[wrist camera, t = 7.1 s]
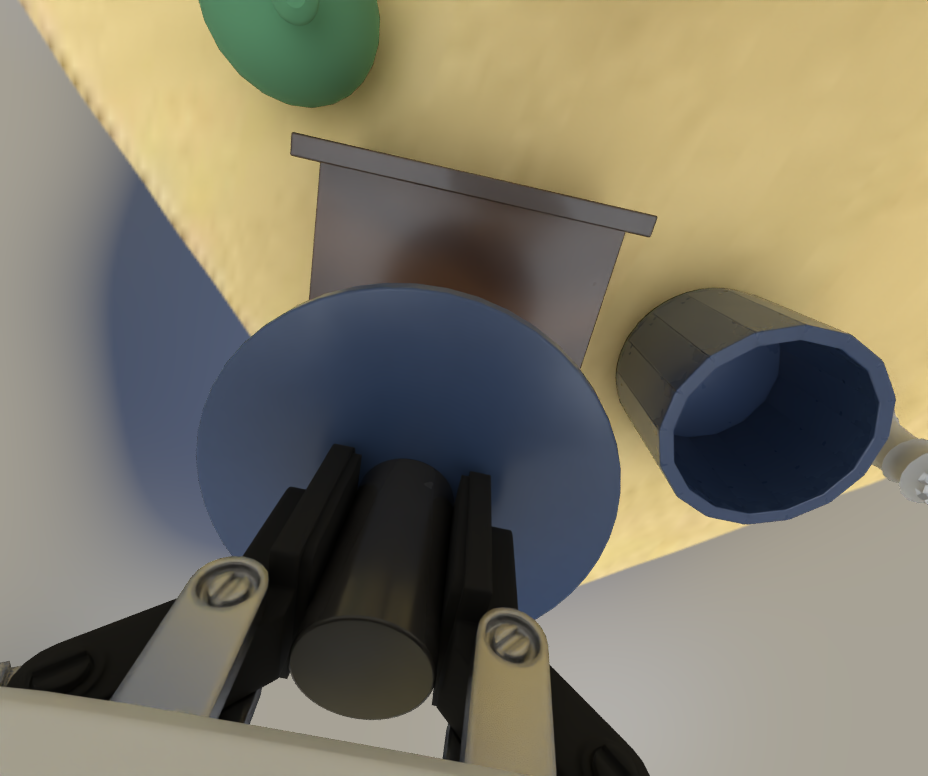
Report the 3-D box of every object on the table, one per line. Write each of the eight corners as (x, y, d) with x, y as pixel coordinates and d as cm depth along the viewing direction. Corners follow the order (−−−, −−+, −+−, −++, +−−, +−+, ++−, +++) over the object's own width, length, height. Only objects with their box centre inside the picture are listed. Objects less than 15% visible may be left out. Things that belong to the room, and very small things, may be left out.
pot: (650, 270, 28) (712, 303, 20) (818, 308, 28) (943, 355, 21) (594, 424, 32) (628, 501, 24) (741, 455, 32) (822, 541, 25)
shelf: (356, 149, 26) (291, 131, 17) (602, 206, 27) (658, 216, 18) (330, 393, 32) (271, 471, 23) (532, 435, 33) (549, 527, 24)
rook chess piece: (890, 388, 30) (1021, 454, 23) (860, 449, 32) (972, 529, 24) (820, 380, 30) (927, 443, 23) (793, 442, 32) (885, 519, 24)
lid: (219, 232, 12) (-44, 276, 6) (671, 331, 12) (841, 462, 6) (217, 581, 16) (67, 801, 10) (548, 644, 16) (581, 887, 11)
